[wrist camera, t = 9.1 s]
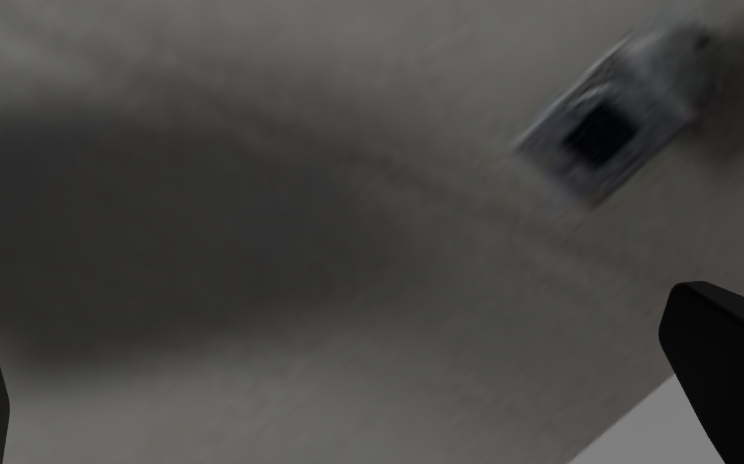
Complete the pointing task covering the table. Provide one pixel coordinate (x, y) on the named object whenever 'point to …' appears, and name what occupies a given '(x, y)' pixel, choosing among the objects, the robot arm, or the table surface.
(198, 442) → the table surface
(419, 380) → the table surface
